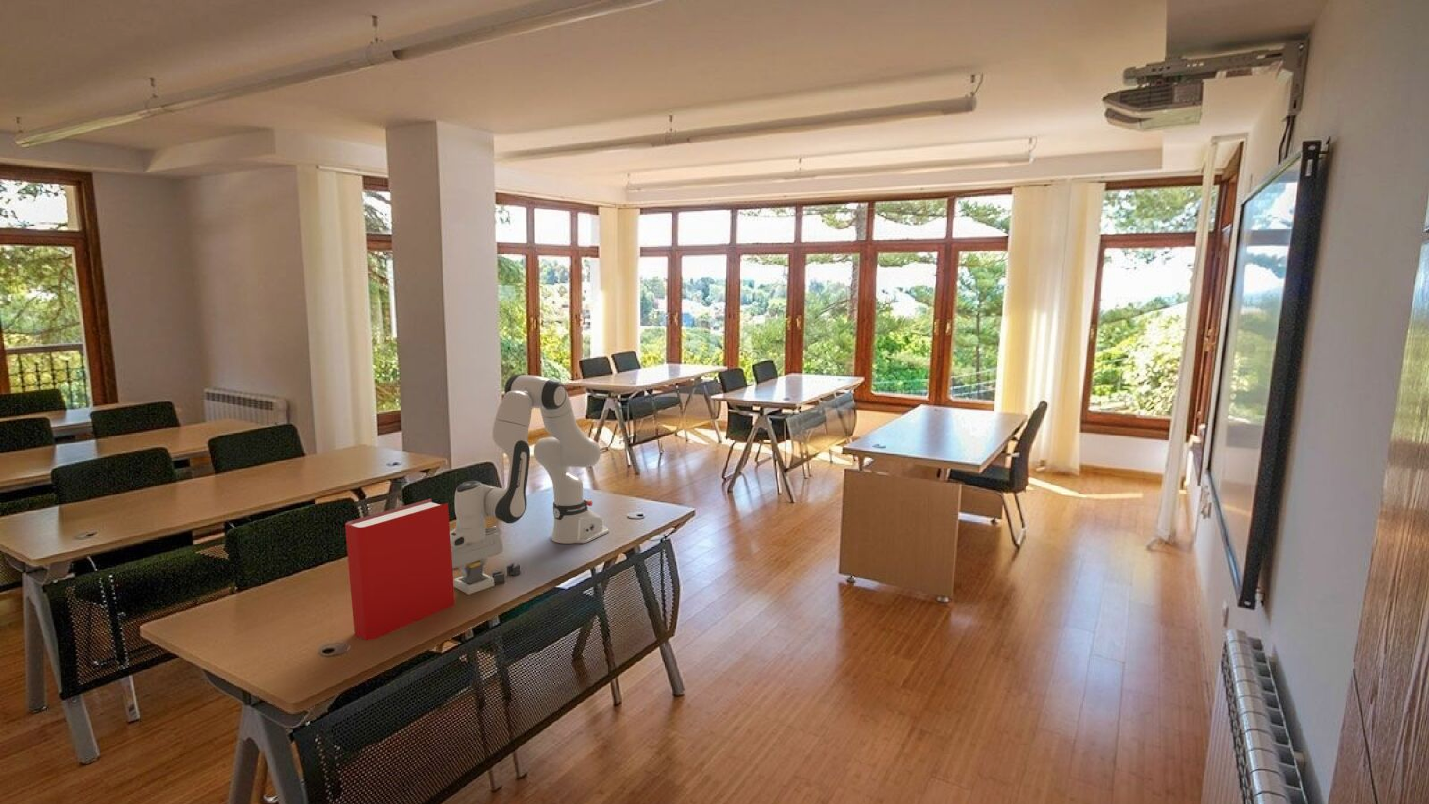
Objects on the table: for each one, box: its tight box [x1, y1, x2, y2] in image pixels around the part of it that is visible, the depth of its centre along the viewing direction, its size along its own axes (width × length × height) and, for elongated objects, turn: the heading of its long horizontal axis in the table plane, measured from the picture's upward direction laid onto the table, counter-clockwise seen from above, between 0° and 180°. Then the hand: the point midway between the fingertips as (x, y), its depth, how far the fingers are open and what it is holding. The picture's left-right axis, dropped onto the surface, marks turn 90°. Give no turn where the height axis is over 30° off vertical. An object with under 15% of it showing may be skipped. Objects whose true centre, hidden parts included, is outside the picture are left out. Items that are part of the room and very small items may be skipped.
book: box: [344, 498, 456, 641], centre depth 205 cm, size 27×8×32 cm, turn 146°
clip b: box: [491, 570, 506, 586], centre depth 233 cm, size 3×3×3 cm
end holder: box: [453, 572, 495, 595], centre depth 230 cm, size 9×9×2 cm
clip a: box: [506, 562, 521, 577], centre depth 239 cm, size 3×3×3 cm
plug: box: [464, 560, 484, 585], centre depth 229 cm, size 4×4×6 cm
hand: (473, 574), depth 229 cm, fingers closed on plug, 4 cm apart
